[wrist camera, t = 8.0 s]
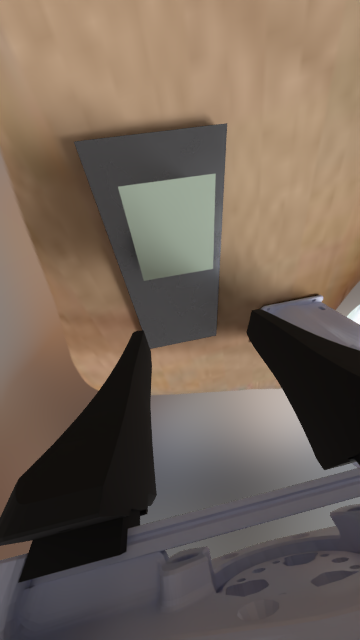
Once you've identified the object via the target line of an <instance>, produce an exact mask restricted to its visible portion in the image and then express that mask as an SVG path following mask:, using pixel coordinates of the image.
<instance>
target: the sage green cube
mask: <svg viewBox="0 0 360 640" xmlns="http://www.w3.org/2000/svg"><path fill="white" fill-rule="evenodd" d="M215 179H216V174H208V175H201V176H193V177H186V178H179V179H171V180H164V181H156V182H149V183H141V184H134V185H127V186H119V187H118V189H119V193H120V196H121V200H122V204H123V207H124V211H125V214H126V218H127V222H128V225H129V229H130V233H131V236H132V240H133V243H134V247H135V251H136V254H137V258H138V261H139V265H140V269H141V272H142V276H143V280H144V281H146V280H152V279H158V278H163V277H169V276H175V275H181V274H186V273H192V272H198V271H204V270H209V269H213V253H214V216H215Z"/></svg>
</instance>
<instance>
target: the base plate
mask: <svg viewBox="0 0 360 640" xmlns="http://www.w3.org/2000/svg"><path fill="white" fill-rule="evenodd" d="M226 134H227V124H218V125H210V126H201V127H193V128H185V129H176V130H168V131H159V132H151V133H143V134H134V135H126V136H117V137H109V138H101V139H92V140H84V141H75V142H74V143H75V146H76V149H77V152H78V154H79V157H80V160H81V163H82V165H83V168H84V171H85V174H86V176H87V179H88V182H89V185H90V187H91V190H92V193H93V195H94V198H95V201H96V204H97V206H98V209H99V212H100V215H101V217H102V220H103V223H104V226H105V228H106V231H107V234H108V237H109V239H110V242H111V245H112V248H113V250H114V253H115V256H116V259H117V261H118V264H119V267H120V270H121V272H122V275H123V278H124V281H125V283H126V286H127V289H128V292H129V294H130V297H131V300H132V303H133V305H134V308H135V311H136V314H137V316H138V319H139V322H140V325H141V327H142V330H144V333H145V336H146V339H147V342H148V345H149V348H150V349H152V348H157V347H162V346H167V345H172V344H176V343H181V342H186V341H191V340H196V339H201V338H206V337H211V336H216V329H217V309H218V290H219V270H220V251H221V232H222V212H223V193H224V173H225V154H226ZM208 174H216V179H215V216H214V253H213V269H209V270H204V271H198V272H192V273H186V274H181V275H175V276H169V277H163V278H158V279H152V280H146V281H144V280H143V276H142V272H141V269H140V265H139V261H138V258H137V254H136V251H135V247H134V243H133V240H132V236H131V233H130V229H129V225H128V222H127V218H126V214H125V211H124V207H123V204H122V200H121V196H120V193H119V189H118V187H119V186H127V185H134V184H141V183H149V182H156V181H164V180H171V179H179V178H186V177H193V176H201V175H208Z"/></svg>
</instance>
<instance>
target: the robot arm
mask: <svg viewBox="0 0 360 640" xmlns="http://www.w3.org/2000/svg"><path fill="white" fill-rule="evenodd" d="M322 300H323V296H321V295H318V296H313V297H308V298H303V299H298V300H293V301H288V302H282V303H277V304H272V305H267V306H263V307H262V308H261V309H258V310H252V312H251V316H250V321H249V325H248V329H247V335H248V337H249V339H250V341H251V343H252V344H253V346H254V348H255V349H256V351H257V352H258V353H259V355H260V356H261V358H262V359H263V360H264V362H265V363H266V365H267V366H268V367H269V369H270V370H271V372H272V373H273V374H274V376H275V377H276V379H277V380H278V382H279V384H280V386H281V387H282V389H283V391H284V392H285V394H286V396H287V398H288V400H289V402H290V404H291V405H292V407H293V409H294V411H295V413H296V415H297V417H298V419H299V421H300V423H301V425H302V427H303V429H304V432H305V434H306V436H307V438H308V440H309V443H310V445H311V447H312V449H313V452H314V454H315V456H316V458H317V460H318V462H319V463H320V465H321V466H322V468H323V469H324V470H327V469H330V468H334V467H338V466H342V465H346V464H350V463H352V464H353V465H354V466H356V467H357V469H353V470H350V471H346V472H342V473H338V474H334V475H330V476H327V477H323V478H319V479H315V480H311V481H307V482H304V483H300V484H296V485H292V486H288V487H285V488H281V489H277V490H273V491H269V492H266V493H262V494H258V495H254V496H250V497H247V498H243V499H239V500H236V501H231V502H228V503H224V504H220V505H216V506H212V507H208V508H204V509H201V510H197V511H193V512H189V513H185V514H182V515H178V516H174V517H170V518H166V519H163V520H159V521H155V522H152V523H147V524H144V525H140V516H142V515H145V514H147V512H148V509H147V508H148V506H151V505H152V503H153V501H154V499H155V497H156V495H157V494H156V484H155V472H154V460H153V447H152V430H151V411H150V397H151V373H152V362H151V351H150V348H149V345H148V342H147V339H146V336H145V333H144V330H142V331H136V332H134V333H133V334H132V336H131V338H130V340H129V342H128V344H127V346H126V348H125V350H124V352H123V354H122V356H121V358H120V359H119V361H118V363H117V364H116V366H115V368H114V369H113V371H112V372H111V374H110V376H109V377H108V379H107V380H106V382H105V383H104V384H103V386H102V387H101V389H100V390H99V391H98V393H97V394H96V395H95V397H94V398H93V399H92V400H91V402H90V403H89V404H88V406H87V407H86V408H85V409H84V410H83V412H82V413H81V414H80V415H79V416H78V417H77V419H76V420H75V421H74V422H73V423H72V424H71V425H70V427H69V428H68V429H67V430H66V431H65V432H64V433H63V434H62V435H61V436H60V438H59V439H58V440H57V441H56V442H55V443H54V444H53V445H52V446H51V447H50V448H49V449H48V450H47V451H46V452H45V453H44V454H43V455H42V456H41V457H40V458H39V459H38V460H37V461H36V462H35V463H34V464H33V465H32V466H31V467H30V468H29V469H28V470H27V471H26V472H25V473H24V474H23V475H22V476H21V477H20V478H19V479H18V482H17V483H16V485H15V487H14V490H13V491H12V493H11V496H10V498H9V500H8V502H7V505H6V507H5V509H4V511H3V513H2V515H1V517H0V546H1V545H7V544H13V543H19V542H25V541H30V540H33V541H32V544H31V547H30V550H29V553H27V554H23V555H19V556H15V557H11V558H8V559H4V560H0V640H360V504H356V505H349V506H345V507H341V508H339V509H337V510H335V511H332V512H330V516H331V518H332V520H333V521H334V523H335V525H336V526H333V527H329V528H324V529H319V530H315V531H310V532H305V533H301V534H296V535H291V536H287V537H283V538H278V539H274V540H270V541H266V542H262V543H259V544H256V545H252V546H249V547H246V548H243V549H240V550H237V551H234V552H231V553H229V554H226V555H223V556H221V557H218V558H215V559H212V560H211V557H210V551H209V548H208V547H207V546H206V547H200V548H193V549H188V550H184V551H181V552H178V553H176V554H174V555H173V556H171V557H170V558H169V557H168V555H167V553H166V551H165V550H167V549H171V548H175V547H178V546H182V545H186V544H189V543H193V542H196V541H200V540H204V539H207V538H211V537H215V536H218V535H222V534H225V533H229V532H233V531H236V530H240V529H243V528H247V527H251V526H254V525H258V524H262V523H265V522H269V521H273V520H276V519H280V518H284V517H287V516H291V515H295V514H298V513H302V512H305V511H309V510H312V509H316V508H320V507H324V506H327V505H331V504H334V503H338V502H342V501H345V500H349V499H353V498H356V497H360V325H359V324H357V323H356V322H354V321H352V320H351V319H349V318H347V317H345V316H343V315H342V314H340V313H339V312H337V311H335V310H334V309H332V308H330V307H329V306H327V305H325V304H323V303H322V302H321V301H322Z"/></svg>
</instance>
